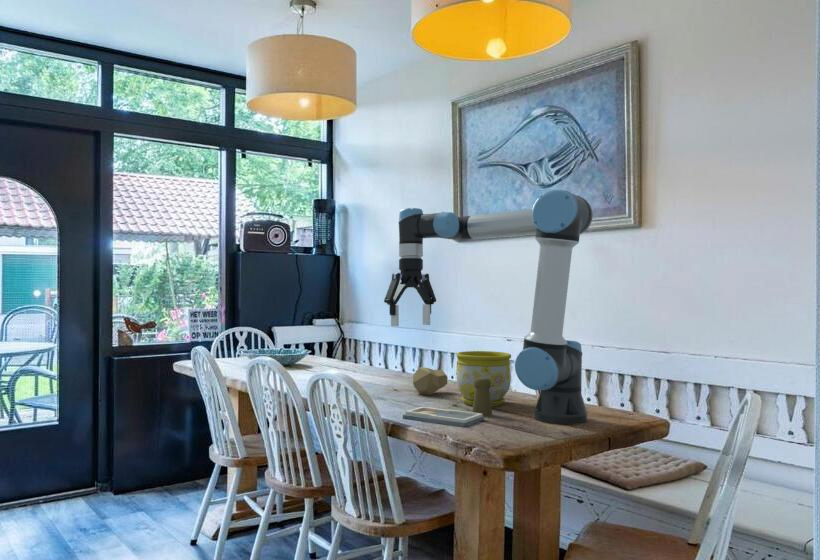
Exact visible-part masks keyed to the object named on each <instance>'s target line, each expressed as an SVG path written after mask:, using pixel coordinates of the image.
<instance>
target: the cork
mask: <svg viewBox="0 0 820 560" xmlns="http://www.w3.org/2000/svg"><path fill="white" fill-rule="evenodd" d="M490 386H491V381H490V379H488V378H484V377H480V378H476V379H475V380H474V387H475V395H474V402H473V406H472V409H471V412H473V413H481V414H483V416H484V417H490V416H493V412H492V406H491V402H490V394H489V388H490Z"/></svg>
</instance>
